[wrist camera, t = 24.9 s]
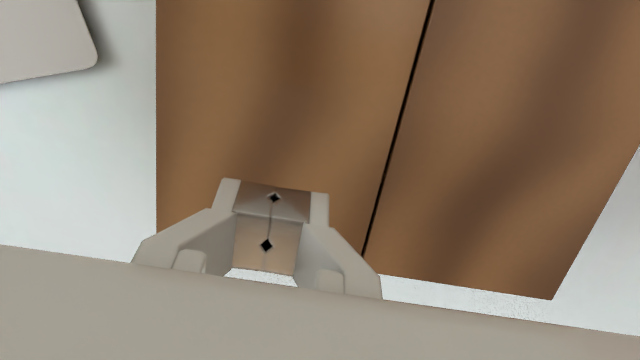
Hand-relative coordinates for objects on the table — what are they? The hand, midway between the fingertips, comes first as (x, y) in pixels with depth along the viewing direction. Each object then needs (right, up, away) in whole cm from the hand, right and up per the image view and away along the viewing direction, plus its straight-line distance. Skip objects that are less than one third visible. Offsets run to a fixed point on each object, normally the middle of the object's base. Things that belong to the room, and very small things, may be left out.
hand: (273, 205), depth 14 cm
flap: (0, +3, +5) cm, 6 cm away
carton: (+4, +6, +12) cm, 15 cm away
